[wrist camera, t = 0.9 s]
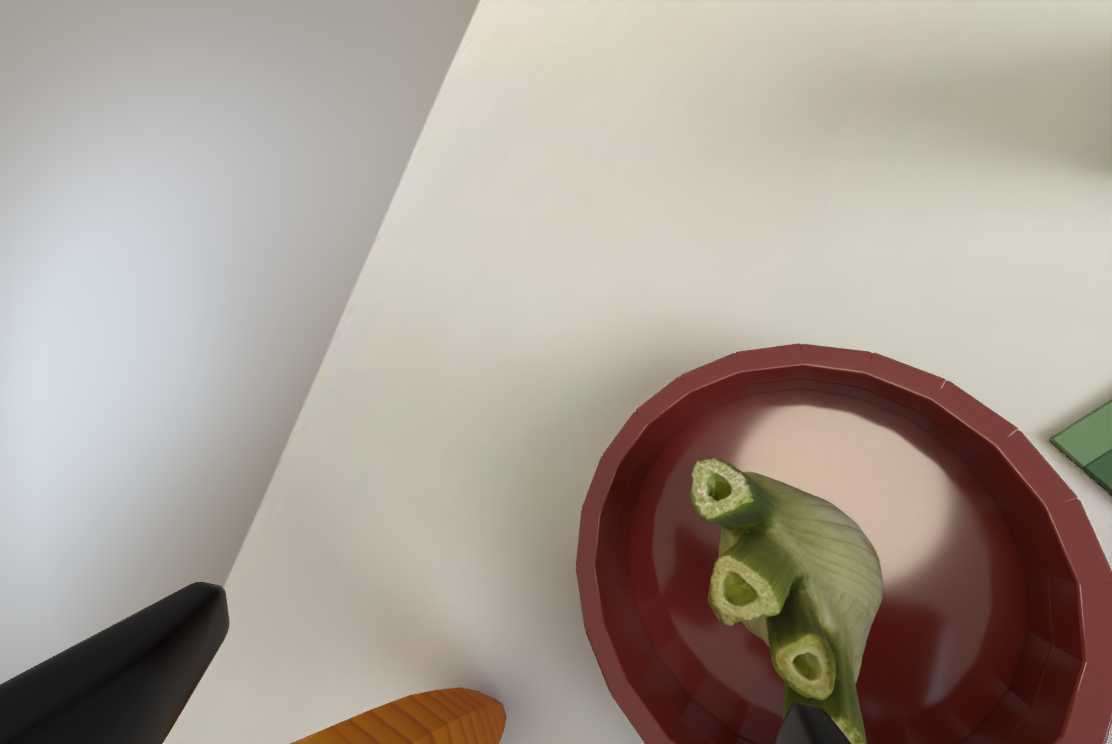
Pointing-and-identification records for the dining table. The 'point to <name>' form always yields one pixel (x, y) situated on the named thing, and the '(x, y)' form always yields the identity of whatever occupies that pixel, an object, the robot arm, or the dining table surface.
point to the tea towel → (1091, 444)
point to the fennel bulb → (793, 583)
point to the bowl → (896, 534)
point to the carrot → (422, 721)
